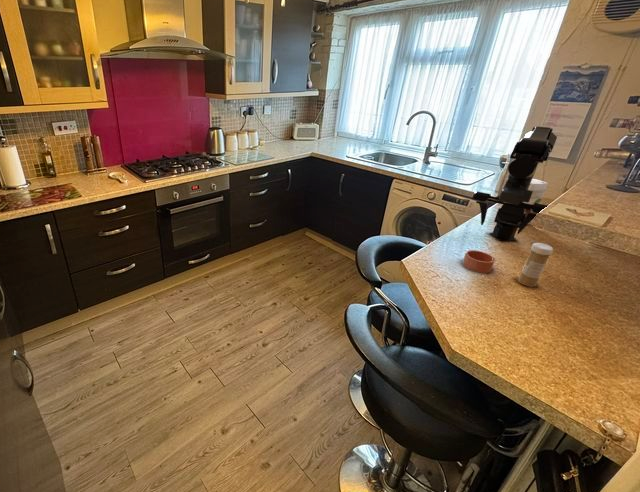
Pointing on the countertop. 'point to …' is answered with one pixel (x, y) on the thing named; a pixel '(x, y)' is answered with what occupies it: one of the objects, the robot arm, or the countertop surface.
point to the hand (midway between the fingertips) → (499, 229)
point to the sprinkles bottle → (535, 264)
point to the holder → (478, 261)
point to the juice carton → (536, 193)
